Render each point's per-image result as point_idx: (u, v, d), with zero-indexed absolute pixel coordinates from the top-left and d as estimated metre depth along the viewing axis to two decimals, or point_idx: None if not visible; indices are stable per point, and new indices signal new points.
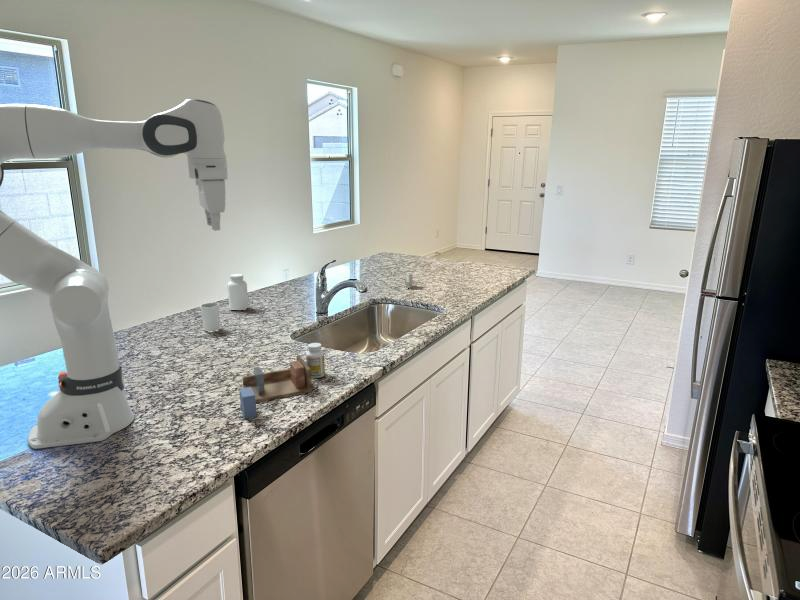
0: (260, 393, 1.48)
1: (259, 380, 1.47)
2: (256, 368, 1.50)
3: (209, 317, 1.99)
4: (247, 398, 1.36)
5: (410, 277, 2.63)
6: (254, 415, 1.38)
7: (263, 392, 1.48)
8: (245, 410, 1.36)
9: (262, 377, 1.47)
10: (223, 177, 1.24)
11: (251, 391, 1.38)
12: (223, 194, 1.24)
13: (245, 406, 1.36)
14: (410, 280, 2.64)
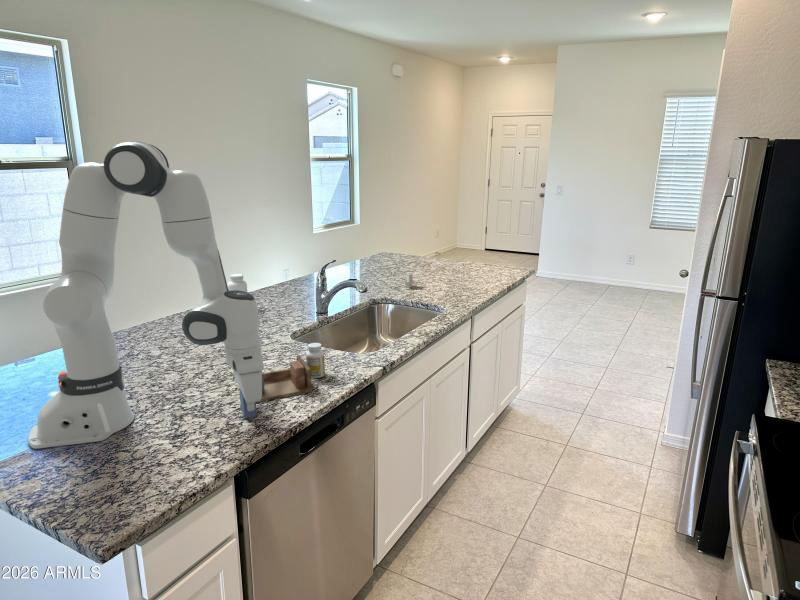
0: None
1: None
2: None
3: None
4: None
5: (410, 277, 2.63)
6: (254, 415, 1.38)
7: (263, 392, 1.48)
8: (245, 410, 1.36)
9: (262, 377, 1.47)
10: (260, 369, 1.29)
11: None
12: (260, 386, 1.29)
13: (245, 406, 1.36)
14: (410, 280, 2.64)
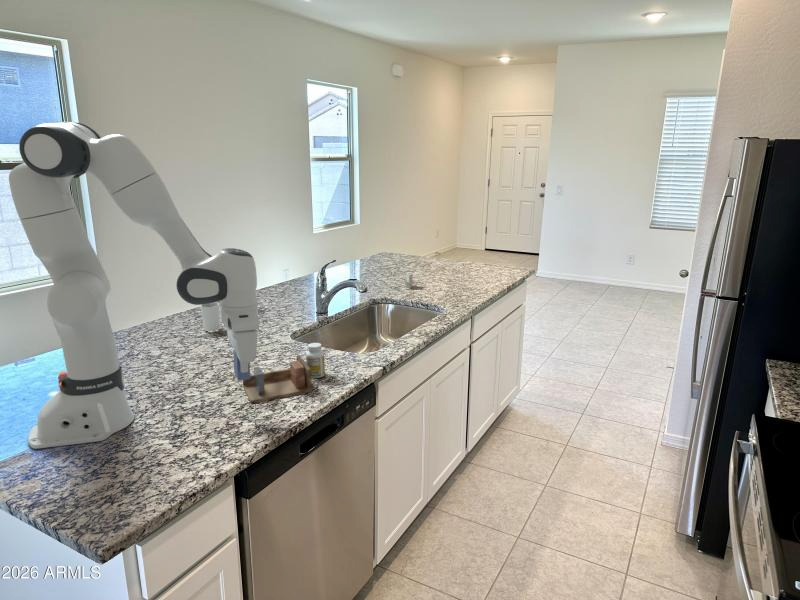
0: (260, 393, 1.48)
1: (259, 380, 1.47)
2: (256, 368, 1.50)
3: (209, 317, 1.99)
4: None
5: (410, 277, 2.63)
6: (247, 377, 1.35)
7: (263, 392, 1.48)
8: (238, 371, 1.33)
9: (262, 377, 1.47)
10: (255, 328, 1.26)
11: None
12: (255, 345, 1.26)
13: (239, 367, 1.33)
14: (410, 280, 2.64)
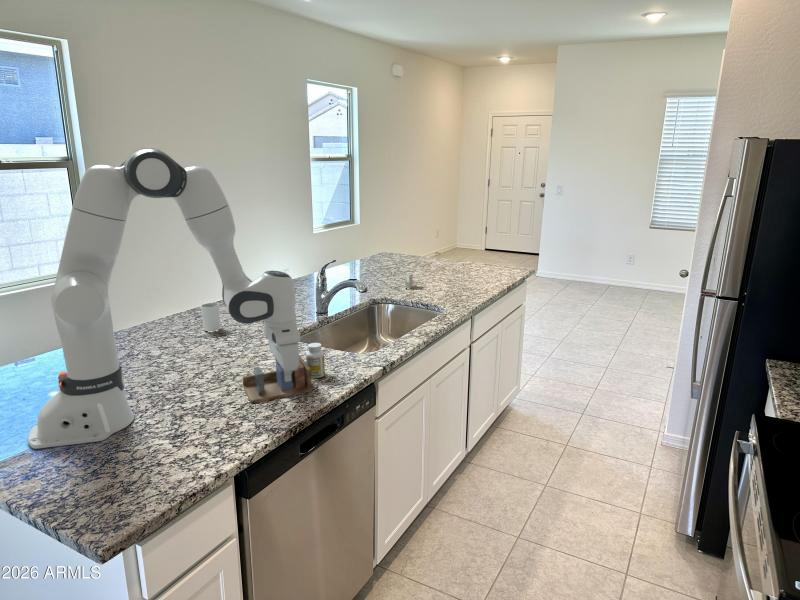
0: (260, 393, 1.48)
1: (259, 380, 1.47)
2: (256, 368, 1.50)
3: (209, 317, 1.99)
4: None
5: (410, 277, 2.63)
6: (290, 388, 1.51)
7: (263, 392, 1.48)
8: (282, 383, 1.50)
9: (262, 377, 1.47)
10: (297, 341, 1.42)
11: None
12: (297, 356, 1.42)
13: (282, 379, 1.49)
14: (410, 280, 2.63)
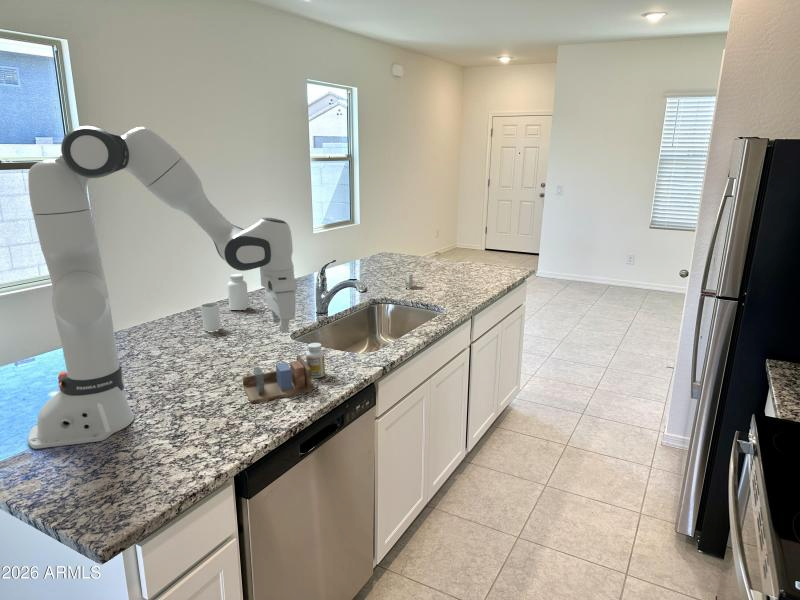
0: (260, 393, 1.48)
1: (259, 380, 1.47)
2: (256, 368, 1.50)
3: (210, 317, 1.99)
4: (284, 372, 1.49)
5: (410, 277, 2.63)
6: (290, 388, 1.51)
7: (263, 392, 1.48)
8: (282, 383, 1.50)
9: (262, 377, 1.47)
10: (294, 289, 1.38)
11: (287, 366, 1.52)
12: (294, 304, 1.38)
13: (282, 379, 1.49)
14: (410, 280, 2.63)
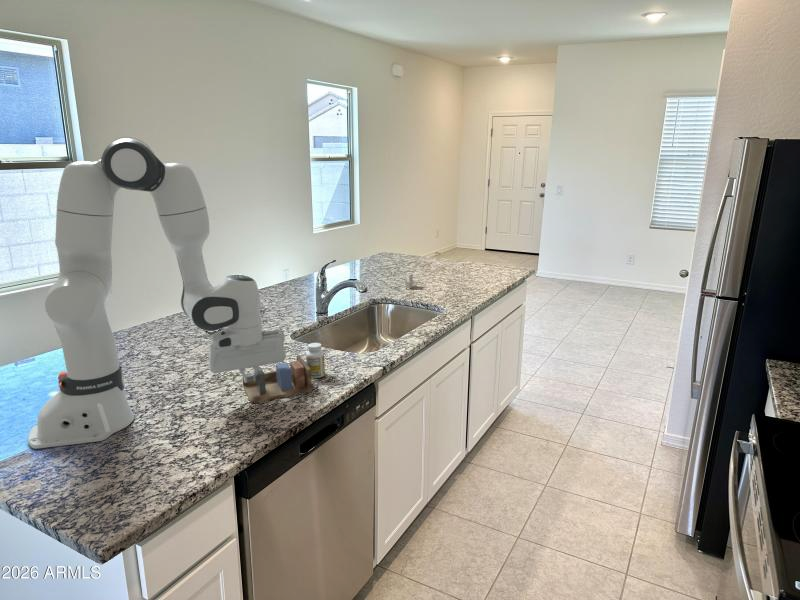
0: (261, 393, 1.48)
1: (260, 380, 1.47)
2: None
3: None
4: (284, 372, 1.49)
5: (410, 277, 2.63)
6: (290, 388, 1.51)
7: (264, 392, 1.48)
8: (282, 383, 1.50)
9: (263, 377, 1.47)
10: (214, 346, 1.39)
11: (287, 366, 1.52)
12: (210, 359, 1.40)
13: (282, 379, 1.49)
14: (410, 280, 2.63)
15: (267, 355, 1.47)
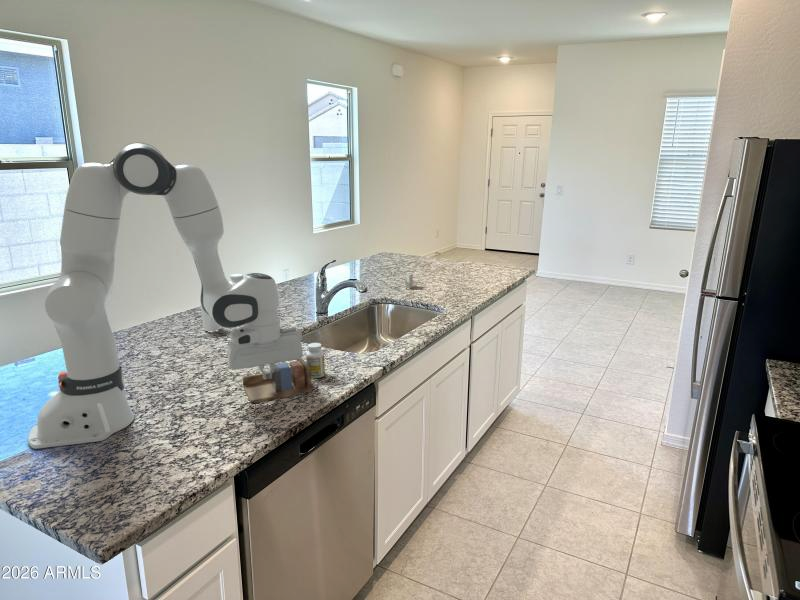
0: (277, 390, 1.50)
1: (276, 377, 1.49)
2: None
3: (210, 317, 1.99)
4: (284, 372, 1.49)
5: (410, 277, 2.63)
6: (290, 388, 1.51)
7: (280, 389, 1.50)
8: (282, 383, 1.50)
9: (279, 374, 1.49)
10: (233, 343, 1.41)
11: (287, 366, 1.52)
12: (229, 356, 1.42)
13: (282, 379, 1.49)
14: (410, 280, 2.63)
15: (284, 352, 1.49)
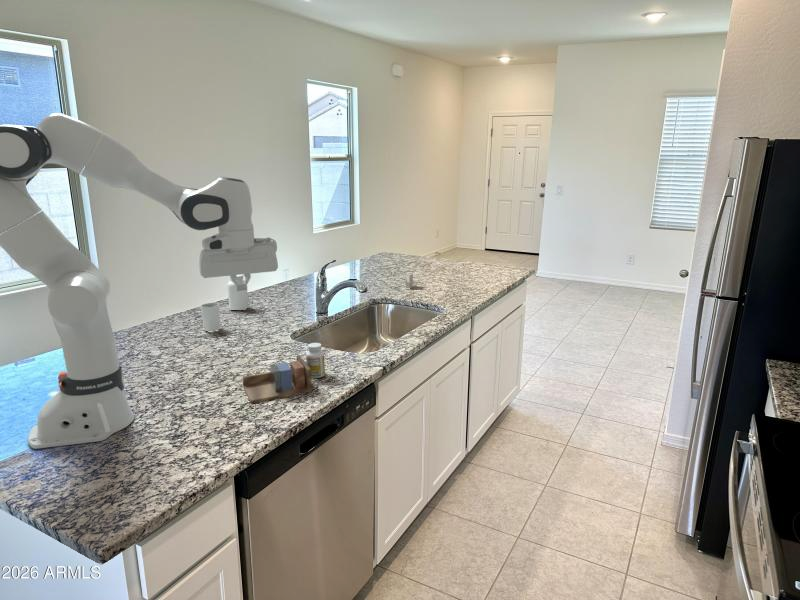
0: (277, 390, 1.50)
1: (276, 377, 1.48)
2: (273, 365, 1.52)
3: (210, 317, 1.99)
4: (284, 372, 1.49)
5: (410, 277, 2.63)
6: (290, 388, 1.51)
7: (280, 389, 1.50)
8: (282, 383, 1.50)
9: (279, 374, 1.49)
10: (204, 248, 1.37)
11: (287, 366, 1.52)
12: (201, 262, 1.38)
13: (282, 379, 1.49)
14: (410, 280, 2.63)
15: (258, 262, 1.44)
